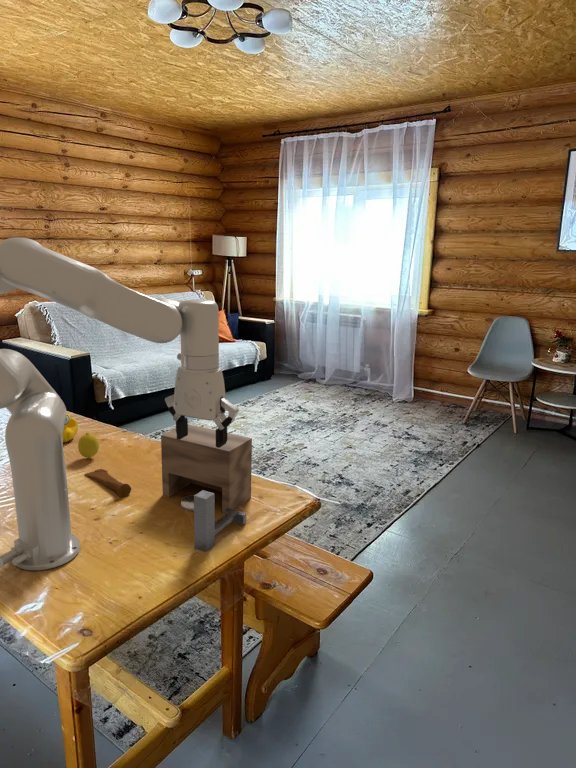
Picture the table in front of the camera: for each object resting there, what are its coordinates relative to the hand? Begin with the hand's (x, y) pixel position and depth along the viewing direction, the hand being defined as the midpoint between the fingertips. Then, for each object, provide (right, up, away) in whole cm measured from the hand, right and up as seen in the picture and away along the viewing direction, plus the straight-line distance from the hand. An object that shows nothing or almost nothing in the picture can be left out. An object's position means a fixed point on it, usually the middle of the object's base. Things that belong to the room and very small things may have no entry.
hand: (201, 441), depth 111 cm
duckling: (-52, -6, +56) cm, 77 cm away
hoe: (+3, -21, +6) cm, 22 cm away
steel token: (-5, -18, +18) cm, 26 cm away
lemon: (-40, -10, +43) cm, 60 cm away
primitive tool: (-29, -15, +28) cm, 43 cm away
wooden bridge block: (-2, -16, +23) cm, 28 cm away
